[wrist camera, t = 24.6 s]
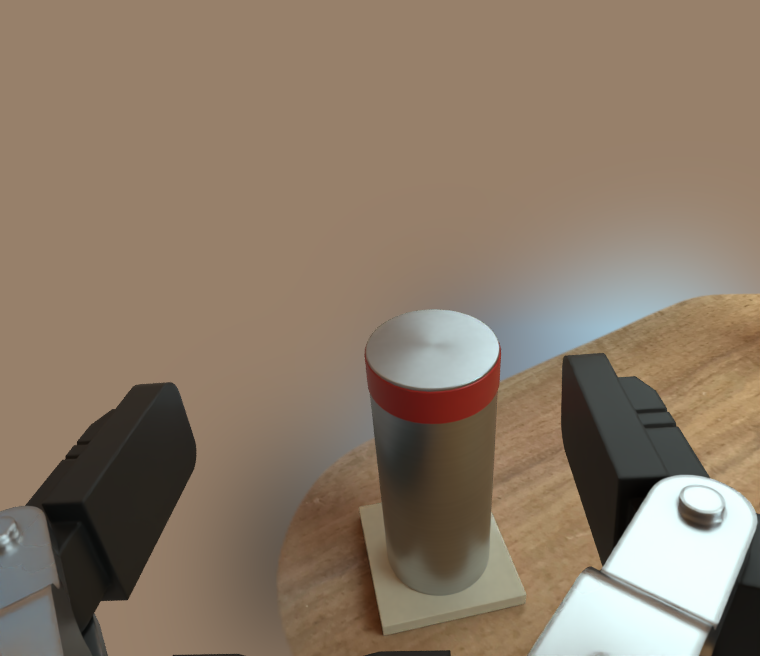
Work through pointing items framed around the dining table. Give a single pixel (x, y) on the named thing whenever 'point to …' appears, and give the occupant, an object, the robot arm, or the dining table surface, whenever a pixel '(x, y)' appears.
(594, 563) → the dining table surface
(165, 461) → the robot arm
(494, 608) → the plate
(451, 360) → the canister
